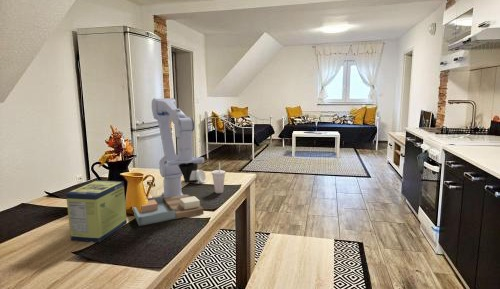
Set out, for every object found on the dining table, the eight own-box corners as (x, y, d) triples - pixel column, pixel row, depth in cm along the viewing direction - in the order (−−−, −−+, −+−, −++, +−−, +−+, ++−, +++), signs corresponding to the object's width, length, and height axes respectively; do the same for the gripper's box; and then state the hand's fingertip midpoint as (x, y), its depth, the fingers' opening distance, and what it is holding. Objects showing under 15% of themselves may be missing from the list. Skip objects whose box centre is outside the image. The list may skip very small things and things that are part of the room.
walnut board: (163, 202, 133) (163, 198, 132) (187, 198, 137) (187, 194, 137) (176, 218, 115) (175, 213, 115) (203, 213, 120) (203, 208, 120)
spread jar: (185, 179, 170) (184, 157, 168) (206, 178, 171) (205, 157, 169) (182, 185, 158) (181, 162, 156) (205, 184, 159) (204, 161, 158)
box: (130, 208, 127) (130, 201, 126) (163, 202, 133) (162, 195, 132) (139, 226, 109) (138, 217, 109) (175, 218, 115) (175, 211, 115)
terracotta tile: (139, 207, 125) (138, 201, 125) (154, 205, 128) (154, 199, 128) (141, 212, 120) (141, 206, 120) (157, 209, 123) (157, 203, 123)
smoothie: (223, 194, 143) (223, 164, 140) (210, 193, 144) (209, 163, 142) (227, 190, 149) (226, 161, 147) (214, 189, 150) (213, 160, 148)
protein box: (127, 223, 112) (124, 180, 110) (99, 243, 97) (95, 194, 94) (101, 221, 114) (97, 179, 111) (69, 241, 99) (64, 193, 96)
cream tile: (180, 204, 124) (180, 198, 124) (194, 202, 127) (194, 196, 127) (184, 209, 119) (184, 203, 119) (199, 206, 122) (199, 200, 121)
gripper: (168, 151, 116) (170, 187, 118) (206, 148, 123) (207, 181, 125) (164, 148, 122) (166, 182, 125) (200, 145, 129) (202, 178, 131)
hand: (186, 182), depth 125 cm, fingers closed
